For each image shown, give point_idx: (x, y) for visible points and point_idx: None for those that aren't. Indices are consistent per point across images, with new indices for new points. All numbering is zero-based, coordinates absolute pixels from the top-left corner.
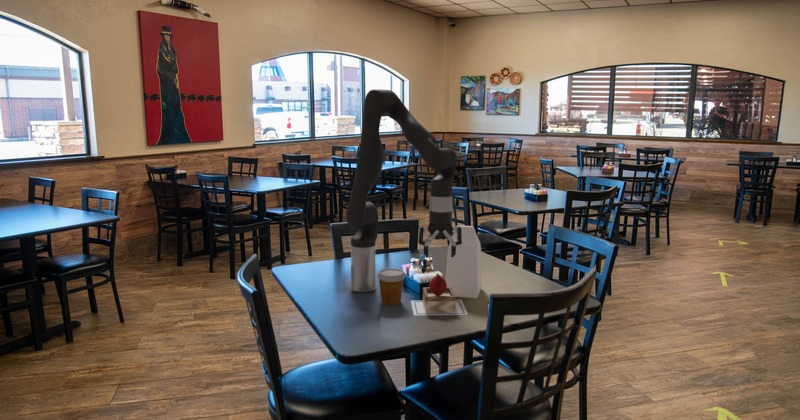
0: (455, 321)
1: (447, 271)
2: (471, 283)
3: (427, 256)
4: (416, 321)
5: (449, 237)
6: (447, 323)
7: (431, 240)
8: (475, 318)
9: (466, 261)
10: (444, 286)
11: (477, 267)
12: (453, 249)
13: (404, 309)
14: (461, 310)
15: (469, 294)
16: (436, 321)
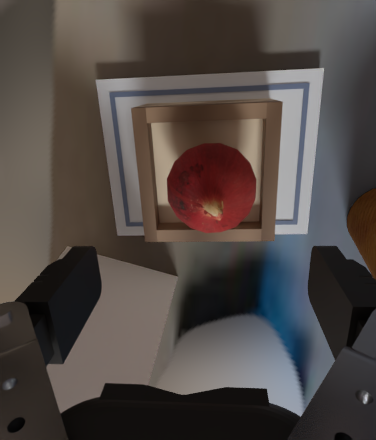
0: (151, 41)
1: (152, 346)
2: None
3: (322, 246)
4: (312, 37)
5: (3, 395)
6: (185, 16)
7: (352, 358)
8: (73, 77)
9: None
10: (180, 158)
11: None
12: (44, 282)
13: (338, 174)
14: (121, 127)
15: None
16: (228, 39)
